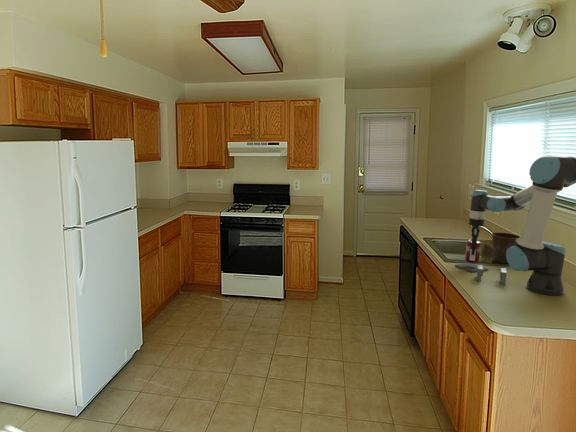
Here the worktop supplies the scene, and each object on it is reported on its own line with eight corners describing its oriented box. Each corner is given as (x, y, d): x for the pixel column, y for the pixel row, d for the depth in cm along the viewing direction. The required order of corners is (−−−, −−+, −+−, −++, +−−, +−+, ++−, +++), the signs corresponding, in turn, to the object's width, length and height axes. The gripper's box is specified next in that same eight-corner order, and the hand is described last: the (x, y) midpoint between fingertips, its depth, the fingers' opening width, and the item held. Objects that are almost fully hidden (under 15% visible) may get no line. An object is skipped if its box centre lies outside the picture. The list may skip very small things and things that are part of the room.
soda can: (466, 259, 234) (468, 238, 231) (480, 261, 229) (482, 241, 227) (463, 262, 228) (465, 241, 226) (477, 264, 224) (479, 243, 221)
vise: (505, 285, 203) (506, 272, 201) (476, 281, 208) (477, 268, 207) (504, 280, 210) (505, 268, 209) (476, 276, 215) (478, 264, 214)
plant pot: (508, 257, 253) (511, 232, 250) (522, 265, 239) (526, 238, 236) (484, 257, 253) (487, 232, 250) (497, 264, 238) (500, 237, 235)
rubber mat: (487, 270, 226) (488, 268, 226) (472, 272, 221) (472, 271, 221) (470, 264, 237) (470, 262, 237) (454, 266, 232) (455, 264, 232)
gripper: (470, 214, 235) (465, 253, 239) (468, 220, 217) (464, 262, 221) (484, 216, 231) (479, 255, 236) (484, 222, 213) (479, 264, 218)
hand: (472, 258), depth 228 cm, fingers closed on soda can, 7 cm apart
